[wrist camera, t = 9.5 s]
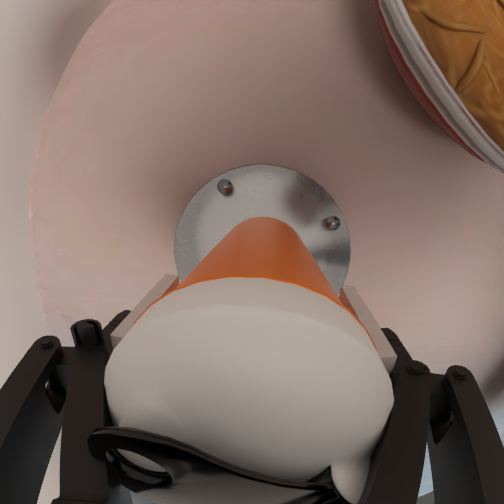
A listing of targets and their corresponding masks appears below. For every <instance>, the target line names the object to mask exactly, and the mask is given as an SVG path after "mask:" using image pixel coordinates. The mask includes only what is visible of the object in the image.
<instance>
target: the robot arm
mask: <svg viewBox="0 0 504 504" xmlns="http://www.w3.org/2000/svg"><path fill="white" fill-rule="evenodd" d="M178 285H179V275H171V274H166V275H165V276H164V277H163V278H162V279H161V280H160V281H159V282H158V283H157V284H156V285H155V286H154V287H153V289H152V290H151V291H150V292H149V293H148V294H147V295H146V296H145V297H144V298H143V299H142V300H141V301H140V302H139V304H138V305H137V306H136V307H135V308H134V309H133V310H132V311H129V310H125V311H123V312H121V313H119V314H117V315H116V316H115V317H114V318H113V319H112V321H111V322H110V323H109V324H108V325H107V326H106V327H105V328H104V329H103V330H102V328H101V323H100V322H98V321H96V320H93V319H85V320H81V321H78V322H76V323H74V324H73V325H72V326H71V328H70V329H71V333H72V336H73V340H74V343H75V347H62V346H61V343H60V340H59V339H58V338H57V337H55V336H43V337H41V338H39V339H38V340H36V341H35V342H34V344H33V345H32V346H31V348H30V349H29V350H28V351H27V353H26V354H25V355H24V357H23V358H22V360H21V361H20V362H19V364H18V365H17V366H16V368H15V369H14V371H13V372H12V373H11V375H10V376H9V378H8V379H7V381H6V382H5V384H4V385H3V386H2V388H1V389H0V504H37V500H38V497H39V493H40V489H41V486H42V483H43V479H44V476H45V473H46V470H47V467H48V464H49V461H50V458H51V455H52V452H53V449H54V446H55V444H56V441H57V438H58V436H59V433H60V430H61V428H62V438H61V451H60V453H61V454H60V496H59V498H57V499H53V501H52V503H51V504H133V503H132V499H131V494H130V490H129V489H127V488H125V487H124V486H122V485H121V484H119V482H118V481H117V479H116V478H115V476H114V475H113V473H112V472H111V470H110V469H109V467H108V466H107V464H106V463H105V462H102V461H100V460H97V459H95V458H93V457H92V456H91V454H90V452H89V449H88V445H87V439H88V437H89V436H90V435H91V433H92V432H93V431H94V430H95V429H96V428H101V427H108V426H113V425H112V421H111V417H110V413H109V409H108V404H107V399H106V393H105V388H104V378H105V368H106V366H107V363H108V361H109V359H110V356H111V354H112V352H113V350H114V349H115V347H116V346H117V345H118V344H119V342H120V341H121V340H122V339H123V337H124V336H125V335H126V334H127V333H128V331H129V330H130V329H131V328H132V326H133V324H134V322H135V321H136V319H137V318H138V317H139V316H140V315H141V314H142V313H143V312H144V311H145V309H146V308H147V307H148V306H149V305H150V304H151V303H153V302H154V301H156V300H157V299H159V298H160V297H162V296H163V295H165V294H166V293H168V292H169V291H171V290H173V289H175V288H176V287H177V286H178ZM339 300H340V301H341V303H342V305H343V306H345V307H346V308H348V309H349V310H350V311H351V312H352V313H353V314H354V315H355V316H356V318H357V319H358V320H359V321H360V322H361V323H362V324H363V325H364V326H365V327H366V329H367V331H368V333H369V334H370V336H371V338H372V340H373V342H374V344H375V346H376V349H377V353H378V355H379V357H380V359H381V361H382V363H383V365H384V367H385V369H386V371H387V373H388V375H389V377H390V379H391V382H392V389H393V396H394V403H393V408H392V411H391V414H390V416H389V419H388V422H387V425H386V428H385V430H384V433H383V436H382V438H381V440H380V442H379V443H378V445H377V447H376V449H375V451H374V453H373V454H372V456H371V463H370V468H369V473H368V477H367V481H366V484H365V487H364V490H363V492H362V495H361V497H360V499H359V502H358V503H357V504H416V502H417V497H418V493H419V488H420V483H421V478H422V472H423V466H424V459H425V452H426V444H428V450H429V457H430V463H431V471H432V479H433V489H434V499H435V504H504V448H503V445H502V442H501V439H500V436H499V434H498V431H497V428H496V426H495V423H494V421H493V418H492V416H491V413H490V411H489V409H488V406H487V404H486V402H485V400H484V397H483V395H482V393H481V391H480V389H479V387H478V384H477V382H476V380H475V378H474V376H473V374H472V373H471V372H470V371H469V370H468V369H467V368H465V367H463V366H458V365H454V366H451V367H449V368H448V370H447V372H446V374H445V375H442V374H433V373H430V370H429V368H428V367H427V366H426V365H425V364H423V363H422V362H419V361H415V360H412V358H411V356H410V355H409V353H408V352H407V350H406V349H405V347H404V346H403V344H402V343H401V341H400V340H399V338H398V336H397V335H396V333H394V332H393V331H391V330H390V329H389V328H380V327H379V325H378V324H377V322H376V320H375V319H374V317H373V315H372V314H371V312H370V311H369V309H368V308H367V306H366V304H365V303H364V301H363V300H362V298H361V297H360V295H359V294H358V292H357V290H356V289H355V287H347V286H341V291H340V296H339ZM46 382H47V383H48V384H47V386H46V387H45V385H46Z"/></svg>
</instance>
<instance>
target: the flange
mask: <svg viewBox="0 0 504 504" xmlns="http://www.w3.org/2000/svg"><path fill="white" fill-rule="evenodd" d="M254 217H271V218H276V219H278V220H281V221H283V222H285V223H286V224H288V225H289V226H291V227H292V228H293V229H294V230H295V231H296V232H297V233H298V235H299V237H300V238H301V240H302V241H303V243H304V244H305V246H306V247H307V249H308V250H309V252H310V253H311V255H312V257H313V258H314V260H315V261H316V263H317V264H318V266H319V267H320V269H321V271H322V272H323V274H324V275H325V277H326V279H327V280H328V282H329V283H330V285H331V287H332V288H333V290H334V291H335V293H336V295H337V294H338V293H339V291H340V289H341V286H342V285H343V283H344V281H345V278H346V275H347V272H348V267H349V263H350V238H349V233H348V228H347V225H346V223H345V220H344V217H343V215H342V213H341V211H340V209H339V207H338V206H337V205H336V203H335V202H334V200H333V199H332V198H331V196H330V195H329V194H328V193H327V192H326V191H325V190H324V189H323V188H322V187H321V186H319V185H318V184H317V183H316V182H314V181H313V180H311V179H310V178H308V177H306V176H305V175H303V174H300V173H298V172H296V171H293V170H291V169H287V168H283V167H279V166H272V165H251V166H245V167H240V168H237V169H233V170H230V171H228V172H226V173H223V174H221V175H219V176H217V177H216V178H214V179H213V180H211V181H209V182H208V183H207V184H206V185H204V186H203V187H202V188H201V189H200V190H199V191H198V192H197V193H196V194H195V195H194V196H193V198H192V199H191V200H190V202H189V203H188V205H187V206H186V208H185V210H184V212H183V214H182V216H181V218H180V221H179V224H178V227H177V230H176V236H175V247H174V253H175V263H176V267H177V271H178V274H179V277H180V280H181V282H182V281H183V280H184V279H185V278H186V277H187V276H188V274H189V273H190V272H191V271H192V270H193V269H194V268H195V267H196V266H197V265H198V264H199V263H200V262H201V261H202V260H203V259H204V258H205V257H206V255H207V254H208V253H209V252H210V251H211V250H212V249H213V248H214V247H215V246H216V245H217V244H218V243H219V242H220V241H221V240H222V239H223V238H224V237H225V236H226V235H227V234H228V233H229V232H230V231H231V230H232V229H233V228H234V227H235V226H236V225H237V224H239V223H241V222H242V221H245V220H247V219H250V218H254Z"/></svg>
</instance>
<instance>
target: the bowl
mask: <svg viewBox="0 0 504 504" xmlns="http://www.w3.org/2000/svg"><path fill="white" fill-rule="evenodd" d="M375 7H376V12H377V17H378V23H379V25H380V28H381V31H382V34H383V37H384V40H385V42H386V45H387V48H388V51H389V54H390V56H391V58H392V60H393V62H394V64H395V66H396V68H397V70H398V72H399V74H400V76H401V77H402V79H403V80H404V82H405V83H406V85H407V86H408V88H409V90H410V91H411V93H412V94H413V96H414V97H415V98H416V100H417V101H418V102H419V103H420V105H421V106H422V107H423V108H424V110H425V111H426V112H427V114H428V115H429V116H430V117H431V118H432V119H433V120H434V121H435V122H436V123H437V124H438V125H439V126H440V127H441V128H442V129H443V130H444V131H445V132H446V133H447V134H448V135H449V136H450V137H451V138H452V139H453V140H455V141H456V142H457V143H458V144H460V145H461V146H462V147H463V148H464V149H466V150H467V151H468V152H469V153H470V154H472V155H473V156H475V157H477V158H479V159H481V160H482V161H484V162H486V163H487V164H489V165H491V166H492V167H494V168H496V169H498V170H499V171H501V172H502V173H504V0H375Z"/></svg>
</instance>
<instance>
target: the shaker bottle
mask: <svg viewBox="0 0 504 504" xmlns="http://www.w3.org/2000/svg"><path fill="white" fill-rule="evenodd" d="M104 388H105V393H106V399H107V404H108V409H109V413H110V417H111V421H112V425H113V426H108V427H101V428H96V429H95V430H94V431H93V432H92V433H91V435H90V436H89V437H88V439H87V445H88V449H89V452H90V454H91V456H92V457H93V458H95V459H97V460H100V461H102V462H105V463H106V464H107V466H108V467H109V469H110V470H111V472H112V473H113V475H114V476H115V478H116V479H117V481H118V482H119V484H121V485H122V486H124V487H125V488H127V489H129V490H131V491H133V492H135V493H137V494H139V495H141V496H144V497H146V498H148V499H151V500H153V501H155V502H157V503H160V504H357V503H358V502H359V499H360V497H361V495H362V492H363V490H364V487H365V484H366V481H367V477H368V473H369V468H370V463H371V456H372V454H373V453H374V451H375V449H376V447H377V445H378V443H379V442H380V440H381V438H382V436H383V433H384V430H385V428H386V425H387V422H388V419H389V416H390V414H391V411H392V408H393V403H394V396H393V389H392V382H391V379H390V377H389V375H388V373H387V371H386V369H385V367H384V365H383V363H382V361H381V359H380V357H379V355H378V353H377V349H376V346H375V344H374V342H373V340H372V338H371V336H370V334H369V333H368V331H367V329H366V327H365V326H364V325H363V324H362V323H361V322H360V321H359V320H358V319H357V318H356V316H355V315H354V314H353V313H352V312H351V311H350V310H349V309H348V308H346V307H345V306H343V305H342V303H341V301H340V300H339V298H338V296H337V295H336V293H335V291H334V290H333V288H332V287H331V285H330V283H329V282H328V280H327V279H326V277H325V275H324V274H323V272H322V271H321V269H320V267H319V266H318V264H317V263H316V261H315V260H314V258H313V257H312V255H311V253H310V252H309V250H308V249H307V247H306V246H305V244H304V243H303V241H302V240H301V238H300V237H299V235H298V233H297V232H296V231H295V230H294V229H293V228H292V227H291V226H289V225H288V224H286V223H285V222H283V221H281V220H278V219H276V218H271V217H254V218H250V219H247V220H245V221H242V222H241V223H239V224H237V225H236V226H235V227H234V228H233V229H232V230H231V231H230V232H229V233H228V234H227V235H226V236H225V237H224V238H223V239H222V240H221V241H220V242H219V243H218V244H217V245H216V246H215V247H214V248H213V249H212V250H211V251H210V252H209V253H208V254H207V255H206V257H205V258H204V259H203V260H202V261H201V262H200V263H199V264H198V265H197V266H196V267H195V268H194V269H193V270H192V271H191V272H190V273H189V274H188V276H187V277H186V278H185V279H184V280H183V281H182V282H181V283H180V284H179V285H178V286H177V287H176V288H175V289H173V290H171V291H169V292H168V293H166V294H165V295H163V296H162V297H160V298H159V299H157V300H156V301H154V302H153V303H151V304H150V305H149V306H148V307H147V308H146V309H145V311H144V312H143V313H142V314H141V315H140V316H139V317H138V318H137V319H136V321H135V322H134V324H133V326H132V328H131V329H130V330H129V331H128V333H127V334H126V335H125V336H124V337H123V339H122V340H121V341H120V342H119V344H118V345H117V346H116V347H115V349H114V350H113V352H112V354H111V356H110V359H109V361H108V363H107V366H106V368H105V378H104Z"/></svg>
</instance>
